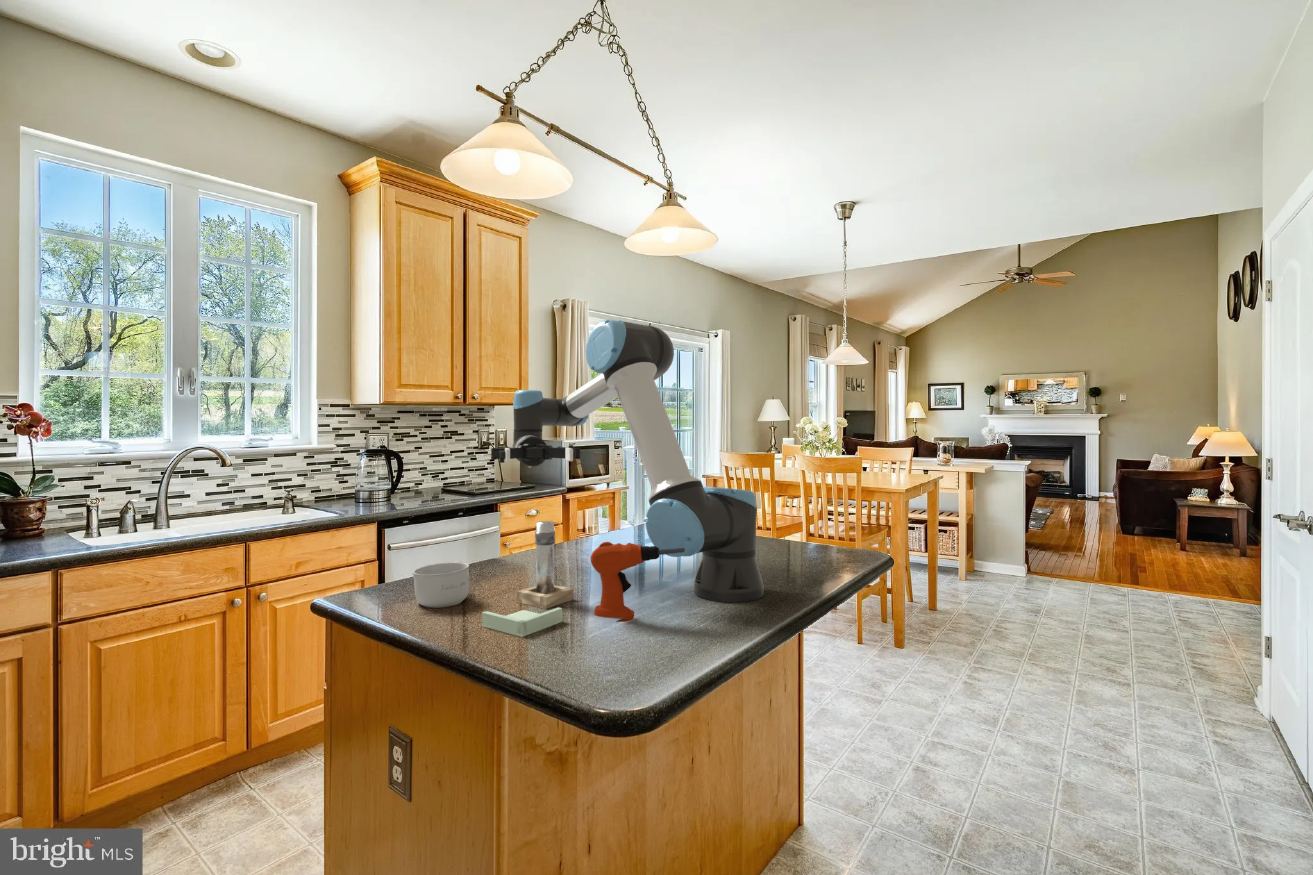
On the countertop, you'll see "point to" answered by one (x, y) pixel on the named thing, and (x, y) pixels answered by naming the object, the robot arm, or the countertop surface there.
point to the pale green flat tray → (521, 621)
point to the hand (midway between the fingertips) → (540, 455)
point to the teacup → (441, 584)
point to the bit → (544, 556)
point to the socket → (544, 597)
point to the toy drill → (620, 574)
